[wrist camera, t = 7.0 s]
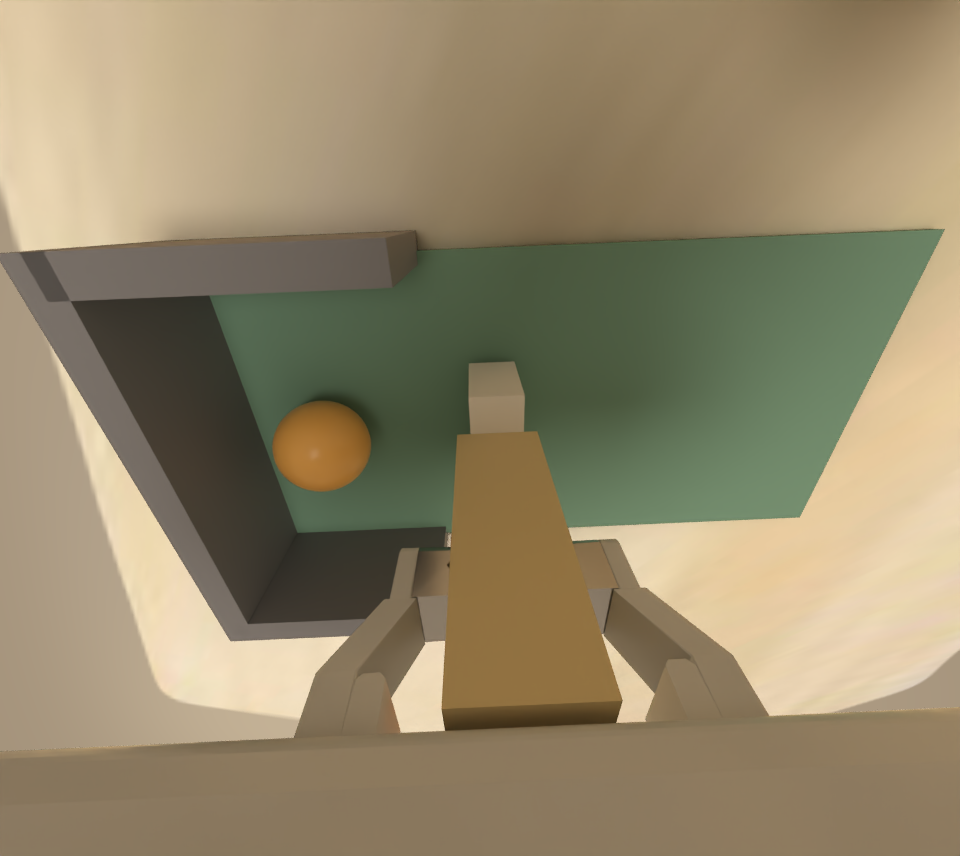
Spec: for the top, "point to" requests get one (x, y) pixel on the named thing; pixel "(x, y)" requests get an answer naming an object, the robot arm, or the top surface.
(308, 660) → the top surface
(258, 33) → the top surface
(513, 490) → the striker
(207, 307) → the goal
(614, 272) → the pitch
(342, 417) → the ball
